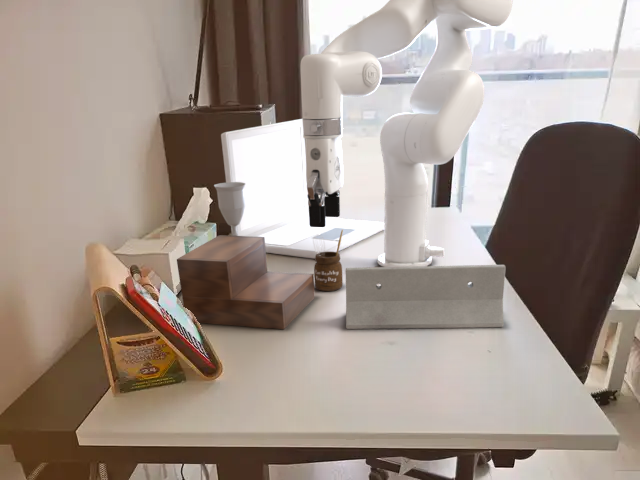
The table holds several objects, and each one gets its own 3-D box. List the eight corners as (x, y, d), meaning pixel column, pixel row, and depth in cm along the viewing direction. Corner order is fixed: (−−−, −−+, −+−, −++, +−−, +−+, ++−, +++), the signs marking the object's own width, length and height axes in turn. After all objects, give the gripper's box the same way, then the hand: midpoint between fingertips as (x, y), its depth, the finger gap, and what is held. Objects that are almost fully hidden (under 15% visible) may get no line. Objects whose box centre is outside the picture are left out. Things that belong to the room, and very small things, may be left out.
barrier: (346, 329, 117) (344, 274, 112) (347, 315, 123) (346, 262, 118) (503, 327, 114) (508, 271, 109) (496, 313, 121) (501, 259, 116)
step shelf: (314, 297, 133) (311, 238, 127) (284, 329, 118) (279, 264, 112) (225, 292, 138) (219, 235, 132) (185, 321, 124) (176, 259, 118)
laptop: (323, 260, 157) (318, 134, 143) (232, 248, 170) (219, 132, 156) (387, 229, 181) (388, 118, 168) (304, 221, 195) (298, 118, 181)
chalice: (257, 259, 160) (250, 182, 151) (245, 266, 155) (237, 187, 146) (230, 257, 162) (222, 181, 153) (218, 265, 157) (208, 187, 148)
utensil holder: (317, 282, 141) (315, 226, 135) (346, 283, 140) (344, 226, 134) (312, 291, 136) (309, 233, 130) (341, 292, 135) (340, 233, 129)
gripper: (328, 133, 115) (330, 231, 123) (353, 124, 129) (354, 213, 137) (288, 133, 117) (293, 230, 125) (317, 125, 131) (320, 212, 139)
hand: (325, 221), depth 131 cm, fingers open, 9 cm apart
